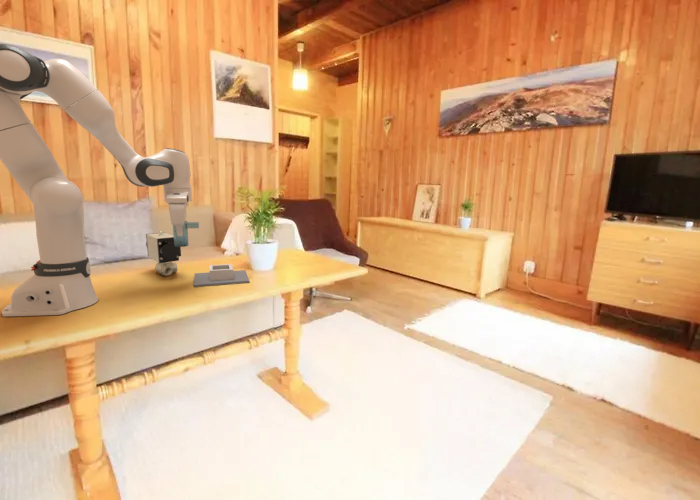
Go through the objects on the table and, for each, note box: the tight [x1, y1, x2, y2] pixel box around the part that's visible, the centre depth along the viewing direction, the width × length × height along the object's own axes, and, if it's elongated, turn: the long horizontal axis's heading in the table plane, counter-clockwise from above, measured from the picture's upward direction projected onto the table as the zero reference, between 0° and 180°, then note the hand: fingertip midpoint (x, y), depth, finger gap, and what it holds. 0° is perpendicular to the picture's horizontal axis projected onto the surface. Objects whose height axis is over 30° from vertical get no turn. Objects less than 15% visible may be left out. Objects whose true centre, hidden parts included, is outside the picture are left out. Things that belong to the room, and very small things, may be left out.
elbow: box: [172, 220, 200, 248], centre depth 130 cm, size 9×5×9 cm, turn 112°
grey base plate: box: [192, 263, 250, 288], centre depth 141 cm, size 20×16×5 cm
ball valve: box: [145, 230, 182, 277], centre depth 144 cm, size 18×8×18 cm, turn 46°
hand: (180, 234), depth 129 cm, fingers closed on elbow, 5 cm apart
